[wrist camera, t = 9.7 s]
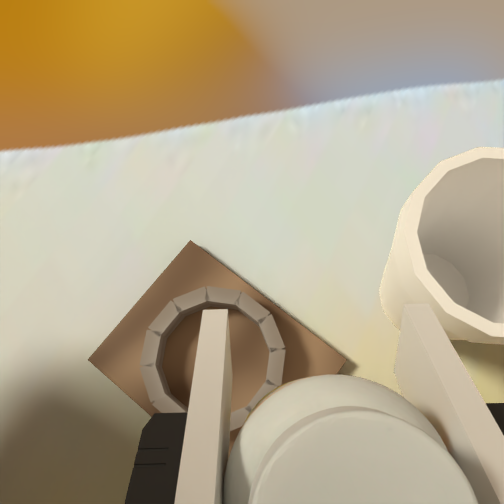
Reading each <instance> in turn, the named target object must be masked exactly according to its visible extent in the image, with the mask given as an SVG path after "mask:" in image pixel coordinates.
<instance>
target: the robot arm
mask: <svg viewBox="0 0 504 504" xmlns="http://www.w3.org/2000/svg"><path fill="white" fill-rule="evenodd" d="M394 374H395V377H396V379H397V382H398V385H399V387H400V390H401V393H402V395H403V397H404V398H405V399H406V400H407V401H409V402H410V403H411V404H413V405H414V406H415V407H416V408H417V409H418V410H419V411H420V412H421V413H422V414H423V415H424V416H425V417H426V418H427V419H428V421H429V422H430V423H431V424H432V426H433V427H434V428H435V429H436V431H437V432H438V434H439V435H440V437H441V439H442V440H443V442H444V444H445V446H446V448H447V450H448V452H449V453H450V454H451V455H452V457H453V458H454V459H455V461H456V462H457V464H458V465H459V466H460V468H461V469H462V471H463V473H464V474H465V476H466V477H467V479H468V481H469V482H470V484H471V487H472V489H473V491H474V493H475V496H476V498H477V500H478V503H479V504H504V403H485V402H484V400H483V398H482V396H481V395H480V393H479V391H478V389H477V388H476V386H475V384H474V382H473V381H472V379H471V377H470V375H469V373H468V372H467V370H466V368H465V366H464V365H463V363H462V361H461V359H460V358H459V356H458V354H457V352H456V351H455V349H454V347H453V345H452V343H451V342H450V340H449V338H448V336H447V335H446V333H445V331H444V329H443V328H442V326H441V324H440V322H439V321H438V319H437V317H436V315H435V313H434V312H433V310H432V308H431V306H430V305H429V303H425V304H404V305H403V312H402V319H401V326H400V333H399V340H398V347H397V354H396V361H395V368H394ZM231 396H232V364H231V349H230V335H229V320H228V309H214V310H203V313H202V319H201V326H200V333H199V340H198V346H197V353H196V360H195V367H194V374H193V380H192V387H191V394H190V401H189V407H188V412H181V413H154V415H153V416H152V417H151V419H150V420H149V422H148V423H147V424H146V426H145V427H144V428H143V430H142V434H141V438H140V442H139V446H138V452H137V454H136V459H135V463H134V468H133V471H132V475H131V479H130V483H129V487H128V491H127V495H126V499H125V504H223V485H224V477H225V471H226V466H227V462H228V458H229V439H230V418H231Z"/></svg>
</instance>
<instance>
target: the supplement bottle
mask: <svg viewBox="0 0 504 504" xmlns="http://www.w3.org/2000/svg"><path fill="white" fill-rule="evenodd" d="M223 504H479V503H478V500H477V498H476V496H475V493H474V491H473V489H472V487H471V484H470V482H469V481H468V479H467V477H466V476H465V474H464V473H463V471H462V469H461V468H460V466H459V465H458V464H457V462H456V461H455V459H454V458H453V457H452V455H451V454H450V453H449V452H448V450H447V448H446V446H445V444H444V442H443V440H442V439H441V437H440V435H439V434H438V432H437V431H436V429H435V428H434V427H433V426H432V424H431V423H430V422H429V421H428V419H427V418H426V417H425V416H424V415H423V414H422V413H421V412H420V411H419V410H418V409H417V408H416V407H415V406H414V405H413V404H411V403H410V402H409V401H407V400H406V399H405V398H404V397H402V396H401V395H399V394H398V393H396V392H394V391H393V390H391V389H389V388H387V387H385V386H383V385H381V384H378V383H376V382H373V381H370V380H367V379H364V378H360V377H355V376H350V375H329V374H328V375H319V376H311V377H306V378H302V379H298V380H294V381H290V382H287V383H285V384H283V385H281V386H279V387H277V388H275V389H273V390H272V391H270V392H269V393H267V394H266V395H265V396H264V397H263V398H262V399H261V400H260V401H259V402H258V403H257V404H256V405H255V406H254V407H253V409H252V410H251V411H250V413H249V415H248V416H247V418H246V420H245V423H244V424H243V426H242V427H241V429H240V431H239V433H238V435H237V438H236V440H235V442H234V444H233V447H232V450H231V453H230V455H229V458H228V462H227V466H226V471H225V477H224V485H223Z"/></svg>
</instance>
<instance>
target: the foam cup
mask: <svg viewBox="0 0 504 504" xmlns="http://www.w3.org/2000/svg"><path fill="white" fill-rule="evenodd" d="M379 295H380V299H381V304H382V308H383V312H384V313H385V314H386V315H387V317H388V318H389V319H390V321H391V322H392V323H393V324H394V326H395V327H396V328H398V329H400V326H401V319H402V312H403V305H404V304H425V303H429V305H430V306H431V308H432V310H433V312H434V313H435V315H436V317H437V319H438V321H439V322H440V324H441V326H442V328H443V329H444V331H445V333H446V335H447V336H448V338H449V340H467V341H469V342H474V343H488V344H502V345H504V148H493V147H477V148H474V149H472V150H469V151H467V152H464V153H461V154H459V155H456V156H453V157H451V158H448V159H446V160H443V161H440V162H439V163H438V164H437V165H436V167H435V168H434V169H433V170H432V171H431V172H430V173H429V174H428V175H427V177H426V178H425V179H424V180H423V181H422V182H421V183H420V184H419V185H418V187H417V188H416V189H415V190H414V191H413V192H412V194H411V195H410V197H409V198H408V200H407V201H406V203H405V204H404V205H403V207H402V208H401V210H400V214H399V219H398V223H397V227H396V231H395V235H394V240H393V244H392V249H391V252H390V255H389V258H388V261H387V264H386V266H385V269H384V273H383V277H382V281H381V285H380V289H379Z"/></svg>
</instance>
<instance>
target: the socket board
mask: <svg viewBox="0 0 504 504" xmlns="http://www.w3.org/2000/svg"><path fill="white" fill-rule="evenodd" d="M214 309H228V320H229V335H230V349H231V364H232V396H231V418H230V439H229V455H230V453H231V450H232V447H233V444H234V442H235V440H236V438H237V435H238V433H239V431H240V429H241V427H242V426H243V424H244V423H245V420H246V418H247V416H248V415H249V413H250V411H251V410H252V409H253V407H254V406H255V405H256V404H257V403H258V402H259V401H260V400H261V399H262V398H263V397H264V396H265V395H266V394H267V393H269V392H270V391H272V390H273V389H275V388H277V387H279V386H281V385H283V384H285V383H287V382H290V381H294V380H298V379H302V378H306V377H311V376H319V375H328V374H329V375H336V374H337V373H338V371H339V370H340V369H341V367H342V366H343V364H344V363H345V362H346V360H347V359H345V358H344V357H343V356H341V355H340V354H339V353H337V352H336V351H335V350H333V349H332V348H331V347H330V346H328V345H327V344H326V343H324V342H323V341H322V340H320V339H319V338H318V337H316V336H315V335H314V334H313V333H311V332H310V331H309V330H307V329H306V328H305V327H303V326H302V325H301V324H299V323H298V322H297V321H296V320H294V319H293V318H292V317H290V316H289V315H288V314H286V313H285V312H284V311H282V310H281V309H280V308H279V307H277V306H276V305H275V304H273V303H272V302H271V301H269V300H268V299H267V298H265V297H264V296H263V295H262V294H260V293H259V292H258V291H256V290H255V289H254V288H252V287H251V286H250V285H248V284H247V283H246V282H245V281H243V280H242V279H241V278H239V277H238V276H237V275H235V274H234V273H233V272H231V271H230V270H229V269H228V268H226V267H225V266H224V265H222V264H221V263H220V262H218V261H217V260H216V259H214V258H213V257H212V256H211V255H209V254H208V253H207V252H205V251H204V250H203V249H201V248H200V247H199V246H197V245H196V244H195V243H194V242H192V241H191V240H190V241H189V242H188V244H187V245H186V246H185V247H184V248H183V249H182V250H181V252H180V253H179V254H178V255H177V256H176V257H175V259H174V260H173V261H172V262H171V263H170V264H169V266H168V267H167V268H166V269H165V270H164V271H163V273H162V274H161V275H160V276H159V277H158V278H157V280H156V281H155V282H154V283H153V284H152V285H151V287H150V288H149V289H148V290H147V291H146V292H145V294H144V295H143V296H142V297H141V298H140V299H139V301H138V302H137V303H136V304H135V305H134V306H133V308H132V309H131V310H130V311H129V312H128V313H127V315H126V316H125V317H124V318H123V319H122V320H121V322H120V323H119V324H118V325H117V326H116V327H115V329H114V330H113V331H112V332H111V333H110V334H109V336H108V337H107V338H106V339H105V340H104V341H103V343H102V344H101V345H100V346H99V347H98V348H97V350H96V351H95V352H94V353H93V354H92V355H91V357H90V358H89V359H88V361H90V362H91V363H92V364H93V365H94V366H95V367H96V368H97V369H99V370H100V371H101V372H102V373H103V374H104V375H105V376H107V377H108V378H109V379H110V380H111V381H112V382H113V383H114V384H116V385H117V386H118V387H119V388H120V389H121V390H122V391H123V392H125V393H126V394H127V395H128V396H129V397H130V398H131V399H132V400H134V401H135V402H136V403H137V404H138V405H139V406H140V407H141V408H143V409H144V410H145V411H146V412H147V413H148V414H149V415H150V416H153V415H154V413H181V412H188V407H189V401H190V394H191V387H192V380H193V374H194V367H195V360H196V353H197V346H198V340H199V333H200V326H201V319H202V313H203V310H214Z"/></svg>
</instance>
